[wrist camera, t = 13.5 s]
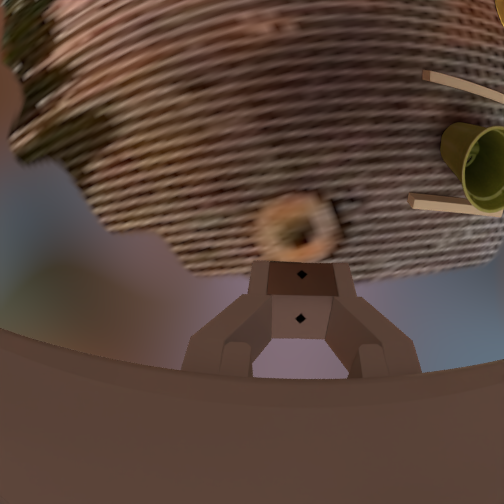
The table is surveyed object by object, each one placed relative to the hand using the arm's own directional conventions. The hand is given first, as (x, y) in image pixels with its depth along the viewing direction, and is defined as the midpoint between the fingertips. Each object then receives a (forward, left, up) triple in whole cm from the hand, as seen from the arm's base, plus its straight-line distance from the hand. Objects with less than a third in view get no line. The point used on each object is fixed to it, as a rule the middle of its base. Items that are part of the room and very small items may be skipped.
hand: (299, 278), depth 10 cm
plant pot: (0, +21, -25) cm, 33 cm away
